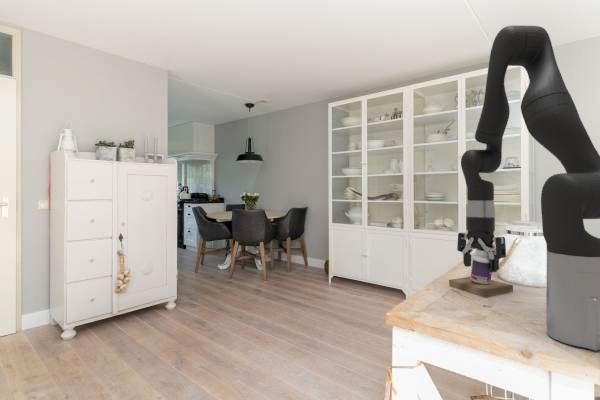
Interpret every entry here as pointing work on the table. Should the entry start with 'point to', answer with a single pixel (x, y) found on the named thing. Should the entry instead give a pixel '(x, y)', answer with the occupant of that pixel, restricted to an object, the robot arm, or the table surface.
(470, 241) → the robot arm
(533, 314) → the table surface
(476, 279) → the pill bottle
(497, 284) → the walnut block
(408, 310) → the table surface
